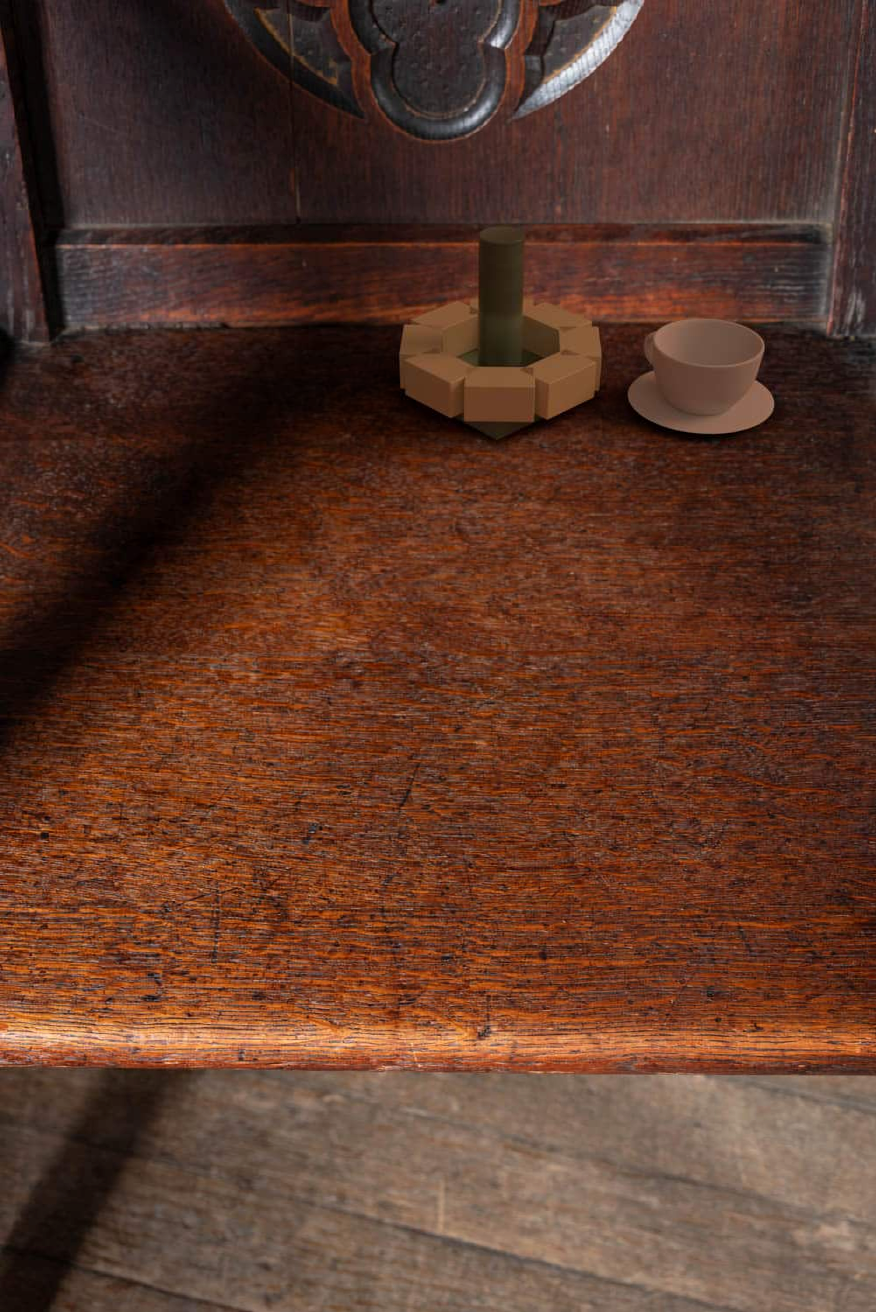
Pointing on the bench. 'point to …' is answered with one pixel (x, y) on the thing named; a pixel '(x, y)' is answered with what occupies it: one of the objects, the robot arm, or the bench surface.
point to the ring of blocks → (500, 389)
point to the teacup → (702, 378)
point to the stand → (500, 314)
